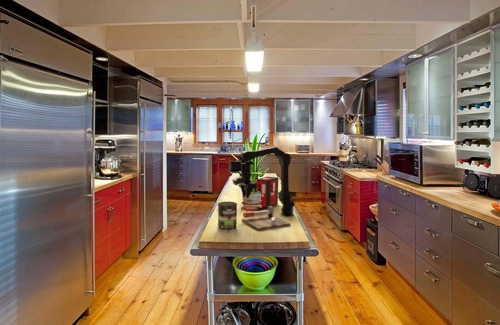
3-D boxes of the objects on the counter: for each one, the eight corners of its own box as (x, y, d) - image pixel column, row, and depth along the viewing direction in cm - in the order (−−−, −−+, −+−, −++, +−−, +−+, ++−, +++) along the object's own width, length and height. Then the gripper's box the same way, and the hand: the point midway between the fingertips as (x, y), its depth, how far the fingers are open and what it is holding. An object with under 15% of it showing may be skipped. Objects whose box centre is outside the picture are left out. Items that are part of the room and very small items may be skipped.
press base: (272, 217, 194) (272, 214, 194) (290, 225, 177) (290, 223, 177) (241, 221, 185) (241, 218, 185) (257, 230, 167) (257, 228, 167)
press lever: (271, 215, 192) (271, 205, 192) (273, 216, 190) (274, 206, 189) (242, 219, 183) (242, 209, 183) (245, 220, 181) (245, 210, 180)
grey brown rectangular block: (271, 222, 178) (271, 217, 178) (275, 222, 178) (275, 217, 178) (271, 225, 172) (271, 220, 172) (274, 225, 172) (274, 220, 172)
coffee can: (238, 231, 166) (239, 205, 165) (219, 232, 163) (219, 206, 162) (234, 225, 176) (234, 200, 175) (216, 226, 173) (216, 201, 172)
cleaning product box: (266, 203, 232) (267, 176, 230) (277, 204, 227) (278, 177, 225) (255, 207, 218) (256, 179, 216) (266, 209, 213) (267, 180, 211)
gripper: (227, 170, 192) (227, 195, 194) (240, 174, 176) (240, 201, 177) (243, 169, 197) (243, 194, 199) (258, 173, 181) (257, 200, 182)
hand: (245, 197), depth 189 cm, fingers open, 4 cm apart
